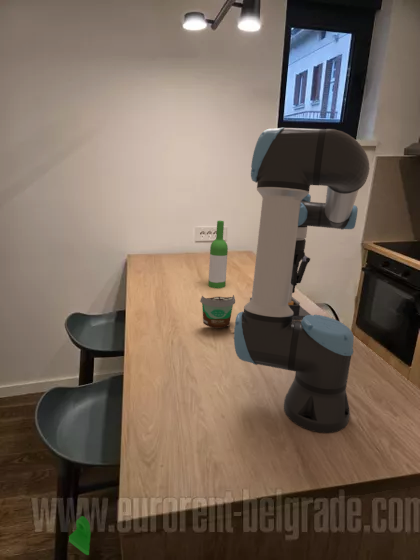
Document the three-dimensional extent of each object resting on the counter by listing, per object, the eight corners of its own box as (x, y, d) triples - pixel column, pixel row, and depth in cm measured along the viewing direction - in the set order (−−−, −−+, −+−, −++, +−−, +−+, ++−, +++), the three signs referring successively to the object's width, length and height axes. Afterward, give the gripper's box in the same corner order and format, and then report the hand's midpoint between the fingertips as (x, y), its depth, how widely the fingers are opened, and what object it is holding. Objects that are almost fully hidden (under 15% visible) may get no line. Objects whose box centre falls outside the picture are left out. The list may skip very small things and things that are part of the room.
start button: (294, 311, 140) (295, 303, 139) (283, 311, 139) (284, 304, 138) (289, 307, 144) (290, 299, 143) (279, 307, 143) (279, 299, 142)
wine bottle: (228, 289, 170) (232, 222, 162) (211, 290, 167) (215, 222, 159) (221, 284, 177) (225, 219, 169) (205, 285, 174) (208, 219, 166)
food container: (203, 330, 126) (204, 301, 123) (199, 323, 132) (200, 295, 129) (238, 328, 129) (240, 300, 126) (232, 321, 135) (234, 294, 132)
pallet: (311, 319, 141) (313, 305, 139) (267, 320, 137) (269, 306, 135) (288, 300, 160) (289, 287, 159) (249, 301, 156) (250, 288, 155)
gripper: (307, 236, 139) (299, 297, 145) (273, 235, 136) (267, 298, 142) (317, 240, 132) (308, 304, 138) (281, 239, 129) (274, 305, 135)
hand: (287, 301), depth 140 cm, fingers closed
